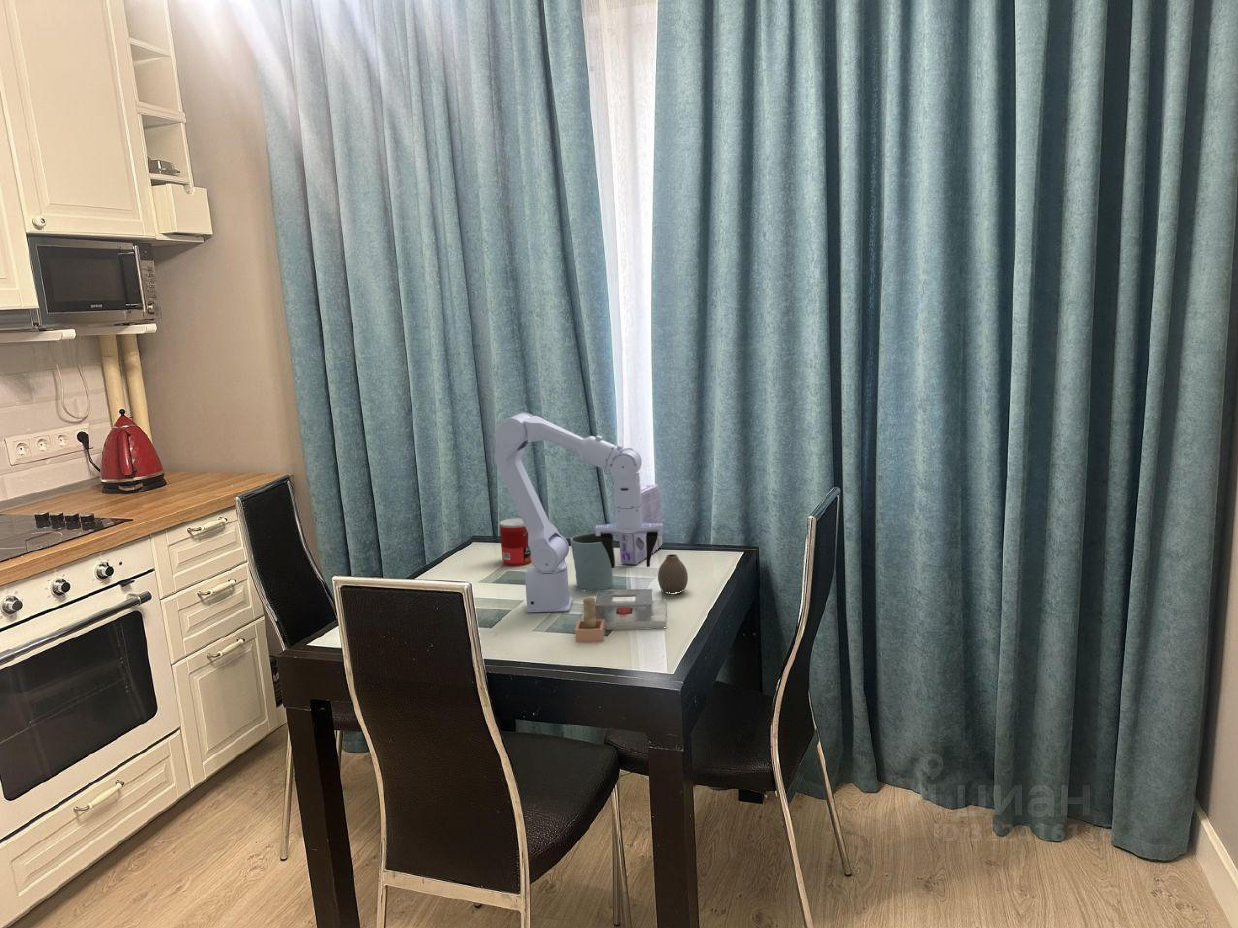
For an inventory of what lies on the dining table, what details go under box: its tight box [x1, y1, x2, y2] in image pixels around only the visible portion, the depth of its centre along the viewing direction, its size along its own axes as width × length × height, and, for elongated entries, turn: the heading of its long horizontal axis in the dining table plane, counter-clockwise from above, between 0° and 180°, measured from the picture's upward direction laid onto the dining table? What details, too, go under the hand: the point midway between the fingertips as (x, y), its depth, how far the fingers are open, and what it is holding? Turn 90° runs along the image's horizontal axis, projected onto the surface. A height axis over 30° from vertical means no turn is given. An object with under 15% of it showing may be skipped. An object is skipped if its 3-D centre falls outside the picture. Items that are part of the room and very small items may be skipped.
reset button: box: [618, 607, 631, 614], centre depth 196 cm, size 3×3×2 cm
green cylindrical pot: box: [570, 531, 614, 592], centre depth 218 cm, size 10×10×12 cm
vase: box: [657, 553, 689, 593], centre depth 211 cm, size 7×7×9 cm
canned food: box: [499, 517, 532, 567], centre depth 240 cm, size 8×8×11 cm
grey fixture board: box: [580, 588, 668, 631], centre depth 196 cm, size 18×13×4 cm
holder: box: [574, 619, 606, 643], centre depth 187 cm, size 6×6×2 cm
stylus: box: [582, 597, 596, 629], centre depth 186 cm, size 2×2×8 cm
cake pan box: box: [618, 484, 664, 566], centre depth 240 cm, size 19×5×18 cm, turn 154°
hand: (630, 566), depth 200 cm, fingers open, 7 cm apart
